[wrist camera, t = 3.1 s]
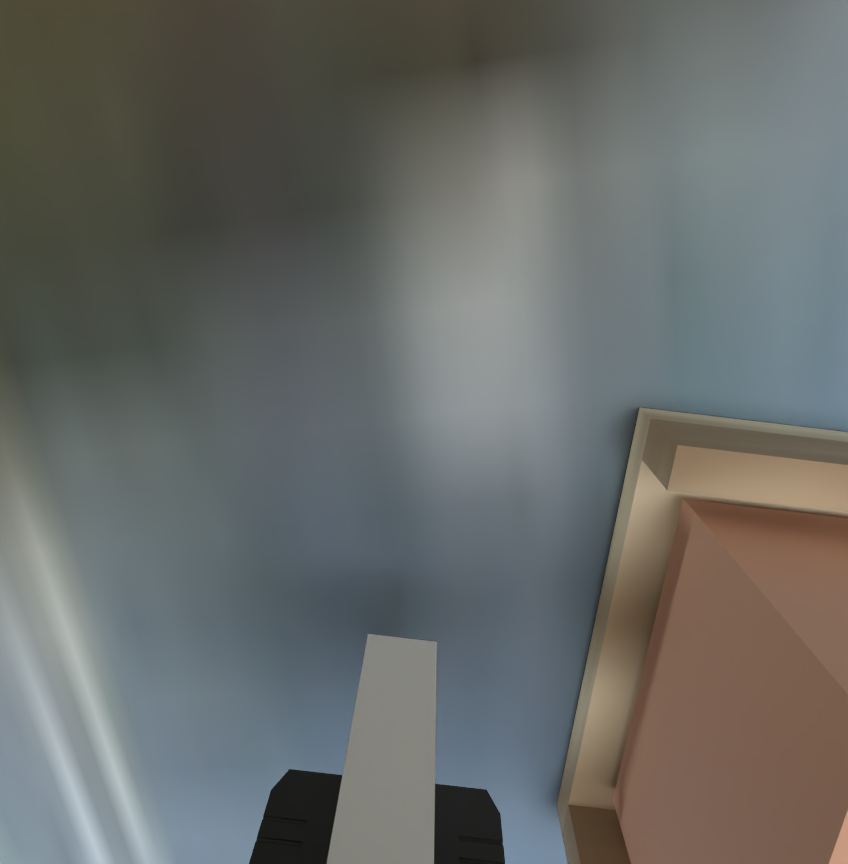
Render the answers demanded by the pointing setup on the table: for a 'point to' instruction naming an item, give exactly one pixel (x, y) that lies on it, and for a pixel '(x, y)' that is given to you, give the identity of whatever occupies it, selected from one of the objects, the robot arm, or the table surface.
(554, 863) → the table surface
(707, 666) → the box
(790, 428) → the bay
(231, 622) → the table surface
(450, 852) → the robot arm
